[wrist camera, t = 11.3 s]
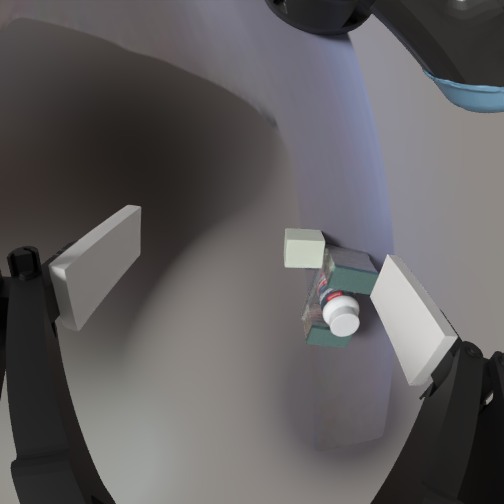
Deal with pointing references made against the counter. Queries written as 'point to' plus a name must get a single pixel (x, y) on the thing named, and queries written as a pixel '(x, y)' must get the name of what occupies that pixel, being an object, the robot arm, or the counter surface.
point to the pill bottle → (339, 309)
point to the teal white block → (341, 278)
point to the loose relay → (303, 248)
